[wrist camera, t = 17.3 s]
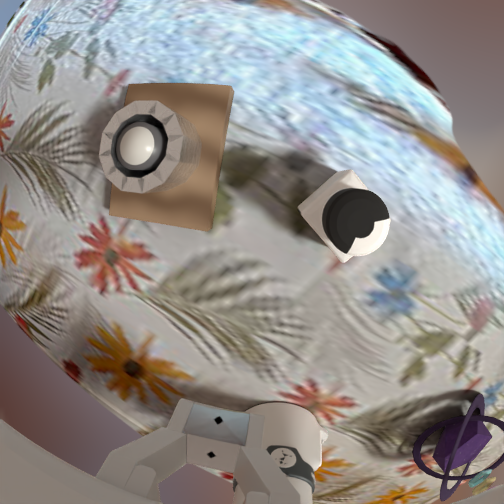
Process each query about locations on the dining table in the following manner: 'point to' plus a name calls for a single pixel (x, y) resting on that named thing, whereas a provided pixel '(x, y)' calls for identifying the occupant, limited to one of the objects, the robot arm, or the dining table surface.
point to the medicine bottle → (347, 216)
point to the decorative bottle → (460, 448)
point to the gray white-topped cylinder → (142, 146)
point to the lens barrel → (177, 154)
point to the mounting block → (208, 171)
